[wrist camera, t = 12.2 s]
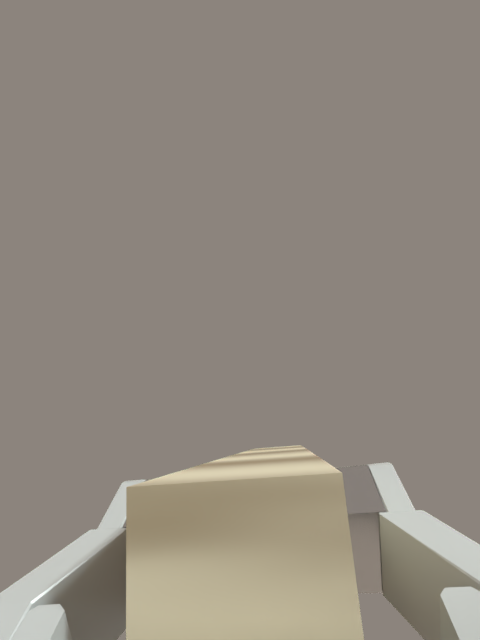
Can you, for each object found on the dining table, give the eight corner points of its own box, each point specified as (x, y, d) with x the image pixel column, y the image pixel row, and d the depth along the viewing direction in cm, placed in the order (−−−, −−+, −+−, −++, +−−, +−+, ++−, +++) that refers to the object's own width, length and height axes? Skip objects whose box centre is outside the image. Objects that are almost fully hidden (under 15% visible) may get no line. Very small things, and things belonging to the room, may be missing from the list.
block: (378, 749, 5) (342, 472, 6) (126, 749, 5) (126, 486, 6) (306, 496, 26) (301, 445, 27) (257, 499, 26) (253, 448, 27)
